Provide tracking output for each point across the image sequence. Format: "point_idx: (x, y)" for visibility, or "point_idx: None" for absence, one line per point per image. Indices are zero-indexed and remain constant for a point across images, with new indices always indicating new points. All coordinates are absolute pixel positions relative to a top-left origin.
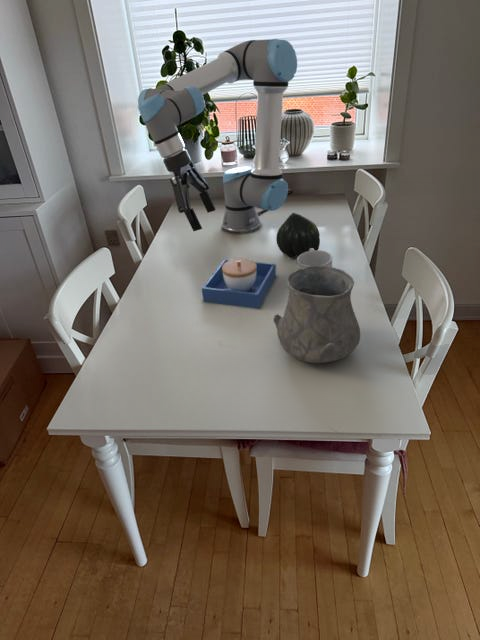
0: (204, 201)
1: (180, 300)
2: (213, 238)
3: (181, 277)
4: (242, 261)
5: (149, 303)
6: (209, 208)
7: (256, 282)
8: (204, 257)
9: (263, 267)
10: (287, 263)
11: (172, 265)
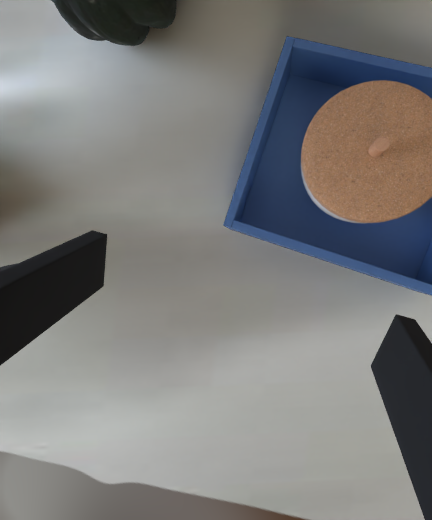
0: (51, 312)
1: None
2: None
3: (249, 367)
4: (337, 138)
5: None
6: (90, 272)
7: None
8: (126, 300)
9: (280, 88)
10: (199, 32)
11: (166, 399)
